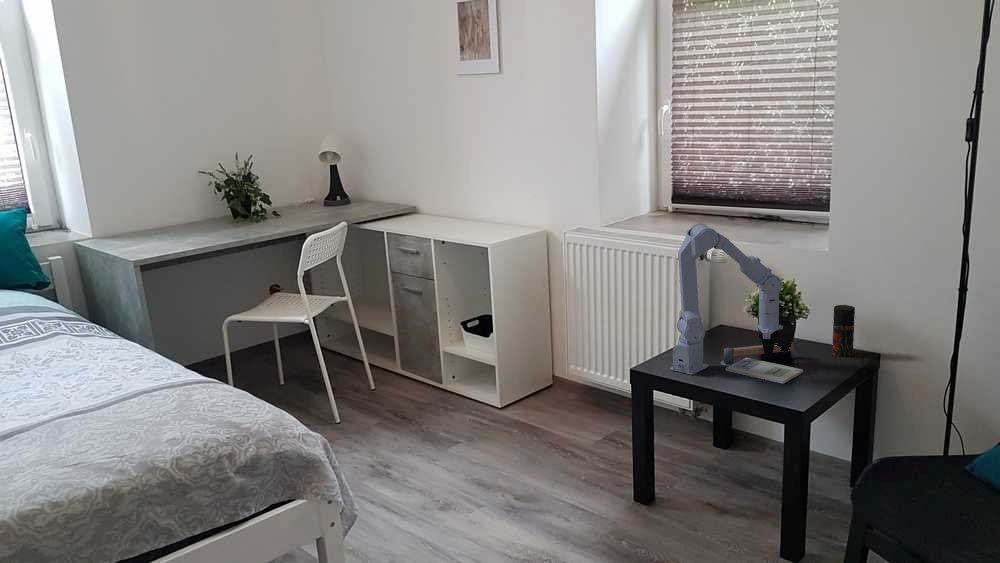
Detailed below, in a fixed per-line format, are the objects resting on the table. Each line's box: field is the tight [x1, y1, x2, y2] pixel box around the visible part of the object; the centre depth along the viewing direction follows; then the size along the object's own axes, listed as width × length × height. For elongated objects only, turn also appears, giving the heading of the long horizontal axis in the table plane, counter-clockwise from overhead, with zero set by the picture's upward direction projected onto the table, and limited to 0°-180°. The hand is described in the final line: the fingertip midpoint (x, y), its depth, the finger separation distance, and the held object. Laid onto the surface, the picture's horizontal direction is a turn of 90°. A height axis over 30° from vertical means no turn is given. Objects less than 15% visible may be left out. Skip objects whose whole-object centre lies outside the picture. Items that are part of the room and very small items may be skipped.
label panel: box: [720, 357, 804, 384], centre depth 245 cm, size 12×24×1 cm, turn 44°
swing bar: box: [723, 342, 795, 364], centre depth 253 cm, size 22×3×4 cm, turn 98°
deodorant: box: [831, 304, 856, 358], centre depth 253 cm, size 6×6×15 cm
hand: (768, 354), depth 250 cm, fingers closed
